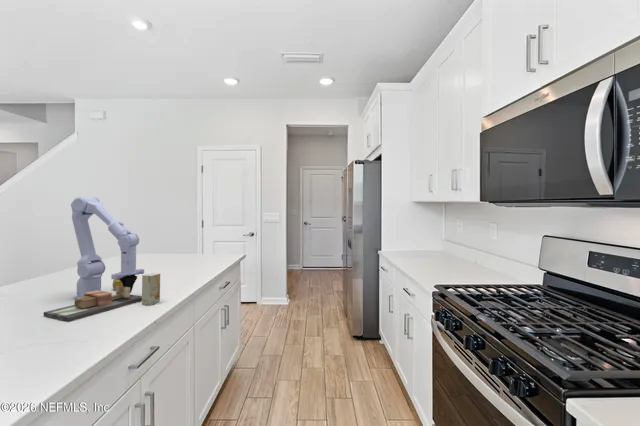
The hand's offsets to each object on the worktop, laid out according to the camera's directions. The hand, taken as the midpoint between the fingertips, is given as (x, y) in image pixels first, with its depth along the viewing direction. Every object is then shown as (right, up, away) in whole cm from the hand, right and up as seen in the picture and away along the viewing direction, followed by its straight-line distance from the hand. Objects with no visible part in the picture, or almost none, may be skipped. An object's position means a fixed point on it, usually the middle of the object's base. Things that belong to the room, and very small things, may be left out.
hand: (128, 293), depth 152 cm
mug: (-15, -3, +21) cm, 26 cm away
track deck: (-5, -3, -13) cm, 14 cm away
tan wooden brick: (-4, -1, -10) cm, 11 cm away
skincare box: (+12, -3, -5) cm, 13 cm away
